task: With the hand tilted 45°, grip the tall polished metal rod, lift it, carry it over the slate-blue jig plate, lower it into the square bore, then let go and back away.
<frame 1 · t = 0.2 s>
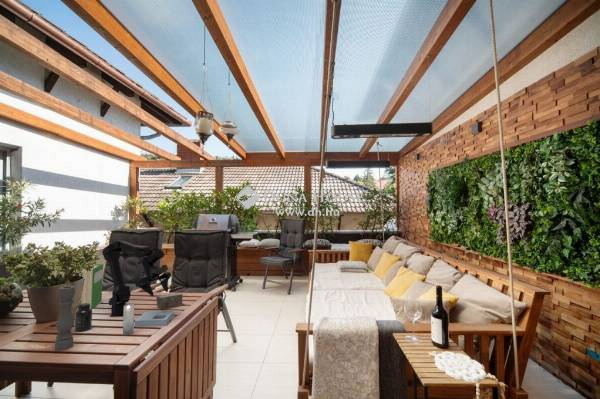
hand: (160, 293, 156), 15 cm above the table, tool tilted 35°, fingers open, 9 cm apart
hardback book: (90, 306, 184), on the table
supplement bottle: (82, 329, 146), on the table
candle holder: (63, 348, 125), on the table
polished metal rod: (128, 333, 141), on the table
stone block: (169, 307, 182), on the table
jig plate: (155, 321, 158), on the table
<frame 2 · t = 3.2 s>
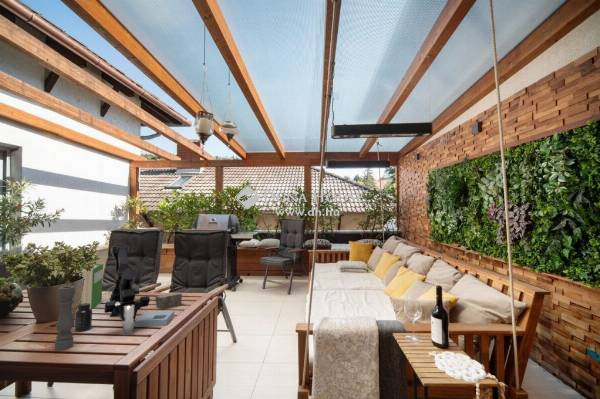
hand: (129, 320, 140), 7 cm above the table, tool tilted 45°, fingers closed on polished metal rod, 4 cm apart
polished metal rod: (128, 333, 141), on the table, touching gripper
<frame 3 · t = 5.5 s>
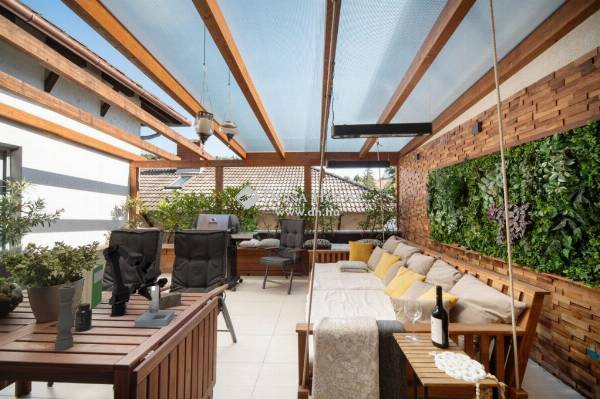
hand: (155, 299, 151), 13 cm above the table, tool tilted 45°, fingers closed on polished metal rod, 4 cm apart
polished metal rod: (153, 311, 152), point 7 cm above the table, touching gripper
when the fingers open (7 cm above the table, at t = 8.0 s): polished metal rod stays where it is, resting in jig plate.
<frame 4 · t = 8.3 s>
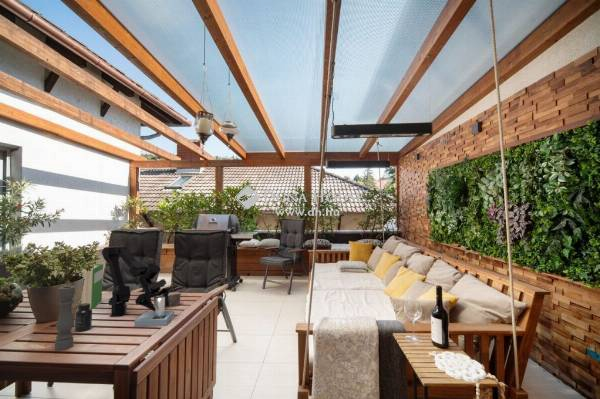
hand: (161, 308, 155), 8 cm above the table, tool tilted 45°, fingers open, 8 cm apart
polished metal rod: (159, 322, 155), resting in jig plate
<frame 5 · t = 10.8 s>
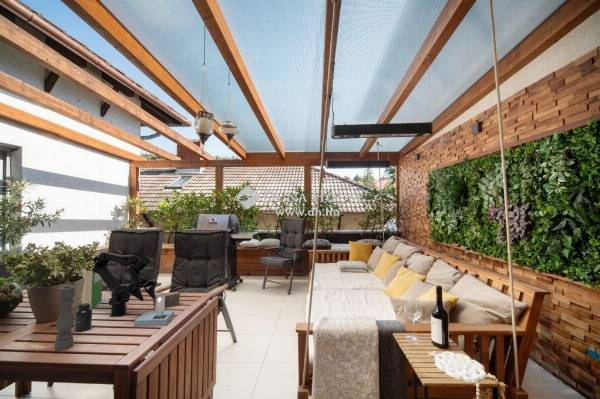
hand: (148, 299, 160), 11 cm above the table, tool tilted 40°, fingers open, 9 cm apart
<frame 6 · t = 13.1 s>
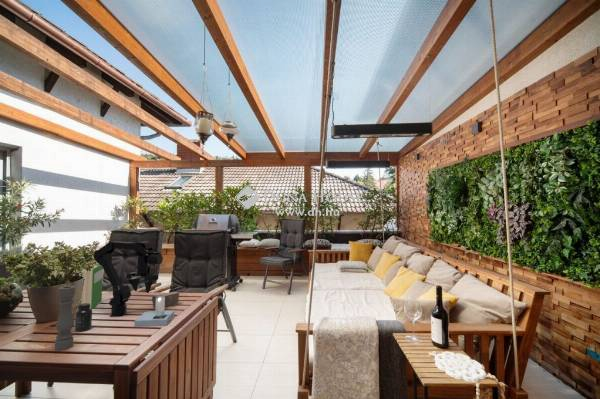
hand: (141, 292, 167), 13 cm above the table, tool pointing down, fingers open, 9 cm apart
at the end: polished metal rod 0.0 cm from the target spot on the jig plate, point 0.0 cm above the jig plate's base; polished metal rod tilted 0°; the gripper is holding nothing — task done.
